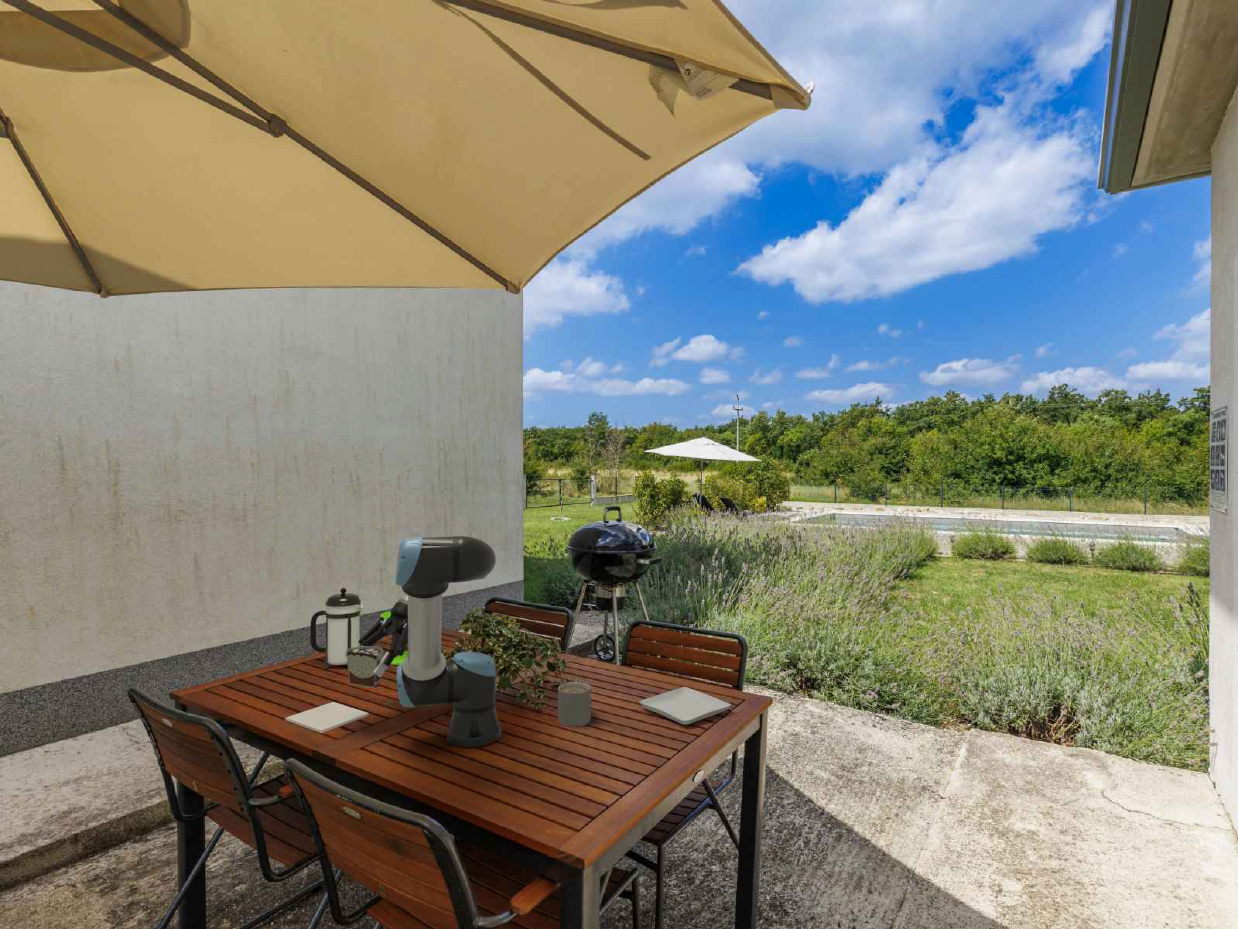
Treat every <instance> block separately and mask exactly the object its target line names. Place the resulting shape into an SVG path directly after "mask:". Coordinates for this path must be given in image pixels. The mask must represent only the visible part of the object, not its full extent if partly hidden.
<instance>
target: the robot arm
mask: <svg viewBox="0 0 1238 929" xmlns="http://www.w3.org/2000/svg"><path fill="white" fill-rule="evenodd" d="M398 546H399V547H398V551H397V552H398V553H397V560H396V569H395V580H394V581H395V585H397V586H400V587H401V590H402V593H401V595H400V596H399V597H398V599H397V600H398V601H397V602H395V604H394V605H393V607H392V608H391V609H390V612H391V616H390V617H389V618H388V619H384V618H383V617H381V616H380V617H379V619H378V620H377V622H376V623H375V624H374V625H372V627H371V628H370V629H369V630H368V631H367V632H366V633H365V634H363V635H362V636H361V637H360V640H359V641H358V643H360V647H361V646H374V645H375V644H377V642H378V643H379V641H381V640H382V639H383V638H384V637H388V636H391V642H390V648H389V649H387V652H385V653H384V657H383V658H382V660H381V661H380V663H379V664H378V666H377V667H376V669H375V670H374V673H375V674H376V675H377V676H378V677H380V678H382V676H383V674H384V673H385V671H386V670H387V669H388V667H390V666H391V665H392V664H391V663H392V661H393V660H394V658H395V657H397V656H399V655H400V656H402V655H403V654H404V651H406V648H407V651H408V655H407V656H406V657H405V659H404V661H403V663H402V664H397V667H396V683H397V696H398V699H399V700H398V701H399V703H400V704H401V706H402V707H404V708H419V707H420V708H421V707H427V706H428V707H429V706H437V705H445V704H453V712H452V714H451V717H450V722H449V726H448V727H447V730H446V741H447V742H448V743H449V744H450V745H452V746H455V747H459V748H478V747H479V748H480V747H483V746H487V745H490V744H494V743H495V742H496V741H498V740H499V739H500V738H501V736H502V725H501V723H500V721H499V717H498V712H497V709H496V675H497V674H496V673H497V672H496V662H495V660H494V658H493V657H492V656H490V655H488V654H485V653H482V652H478V651H477V652H475V651H461V652H458V653H455V654H454V655H453V657H452V659H449V660H448V659H446V657H445V655H444V653H442V622H443V620H442V619H443V594H444V593H446V592H447V590H448V589H449V584H453V583H465V582H472V581H478V580H483V579H484V580H485V579H486V578H487V576H488V575H489V574H491V572H492V571H493V570H494V568H495V565H496V559H497V558H496V553H495V551H494V549H493V548H492V546H490V545H489V544H488V543H487V542H485V541H483V540H481V539H479V538H476V537H473V536H472V537H471V536H466V535H457V536H456V535H455V536H430V537H429V536H428V537H427V536H426V537H422V536H416V537H406V538H404V539H402V540H401V541H400V544H399V545H398ZM400 649H401V650H400Z"/></svg>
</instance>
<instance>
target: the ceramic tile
mask: <svg viewBox="0 0 1238 929" xmlns="http://www.w3.org/2000/svg"><path fill="white" fill-rule="evenodd" d="M369 714H370V713H369V712H366V711H363V710H360V709H358V708H353V707H350V706H348V705H344V704H341V703H338V702H335V701H332V702H329V703H326V704H323V705H320V706H317V707H314V708H310V709H308V710H307V709H306V710H304V711H301V712H299V713H295V714H293V715H290V716H285V719H284V720H285V721H286V722H290V723H292V724H294V725H297V726H300V727H302V728H306V729H308V730H311V731H314V732H317V733H320V734H323V733H325V732H329V731H331V730H333V729H337V728H339V727H341V726H344V725H348V724H351V723H354V722H355V721H358V720H361V719H363V718H366V717H369Z"/></svg>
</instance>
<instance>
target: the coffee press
mask: <svg viewBox="0 0 1238 929" xmlns="http://www.w3.org/2000/svg"><path fill="white" fill-rule="evenodd" d="M339 591H340V593H336V594H332V595H330V596H329V597H328V598H327V599H326V601H325V602H324V605H325V607H326V608H325V610H319V611H317V612H315V613H314V614H313V615H312V616H311V619H310V631H309V634H310V640H309V641H310V645H311V647H312V649H313V650H314V651H315V652H318V653H323V654H325V661H324V663H323V665H322V669H324V670H327V669H328V668H329V667H330V666H344V665H345V666H346V668H347V669H348V661H347V656H345V655H346V651H347V649H350V648H354V647H360V646H361V645H360V643H358V641H359V640H360V639H361V637H360V632H361V629H360V620H361V617H360V616H361V609H362V610H364V606H363V603H362V600H361V598H360V597H359V595H357V594H355V593H351V592H350V593H349V592H348V593H347V589H346V588H345V587H342V588H340V590H339ZM321 616H325V647H321V646H319V645H318V644H317V621H318V620H317V619H318V618H319V617H321ZM325 666H326V667H325Z"/></svg>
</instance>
